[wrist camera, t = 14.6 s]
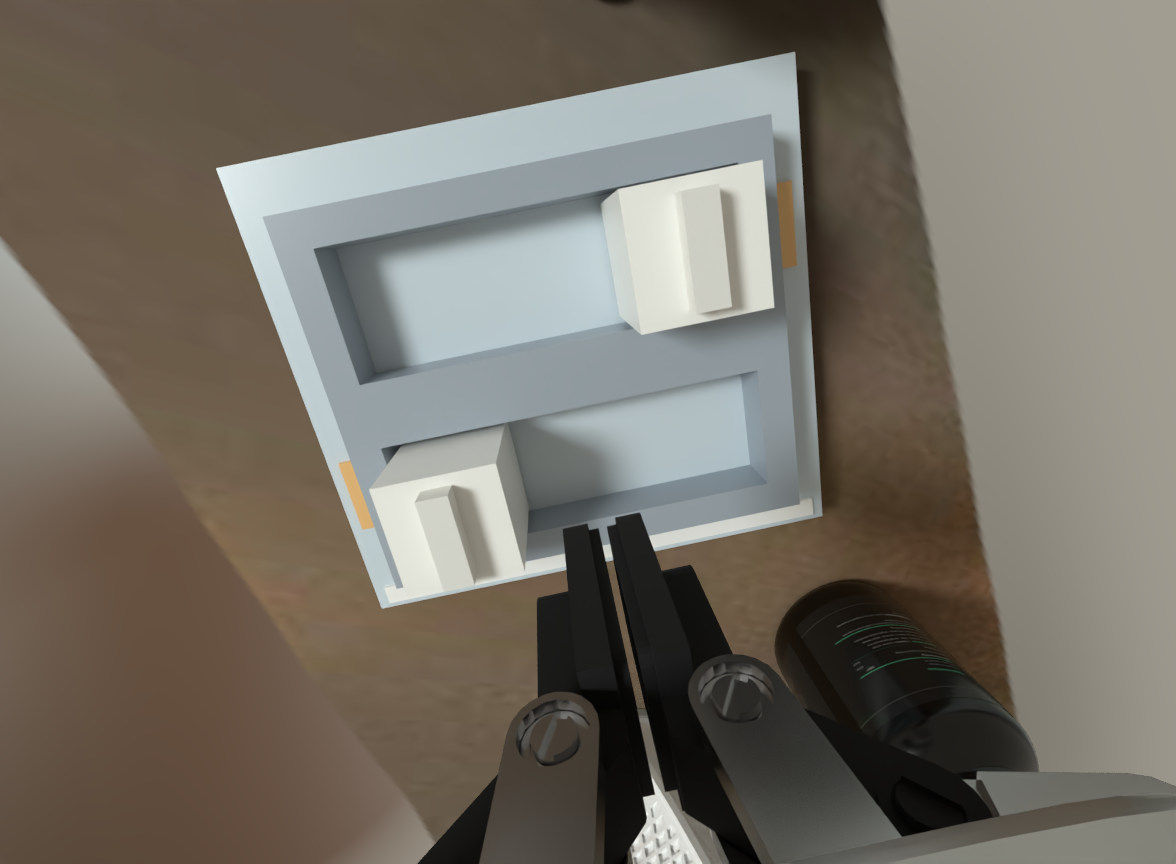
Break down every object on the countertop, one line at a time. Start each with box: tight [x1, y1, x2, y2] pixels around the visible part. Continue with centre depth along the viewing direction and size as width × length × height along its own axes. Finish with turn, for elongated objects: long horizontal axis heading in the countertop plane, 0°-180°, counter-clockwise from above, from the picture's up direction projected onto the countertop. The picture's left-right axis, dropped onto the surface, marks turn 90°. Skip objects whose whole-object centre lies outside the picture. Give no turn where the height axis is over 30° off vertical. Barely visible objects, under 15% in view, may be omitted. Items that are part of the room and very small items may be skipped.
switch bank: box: [216, 52, 822, 608], centre depth 21 cm, size 18×20×4 cm
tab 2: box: [600, 160, 774, 335], centre depth 17 cm, size 4×4×6 cm
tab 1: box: [369, 422, 529, 597], centre depth 20 cm, size 4×4×6 cm
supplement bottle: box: [775, 582, 1039, 780], centre depth 23 cm, size 7×7×12 cm
